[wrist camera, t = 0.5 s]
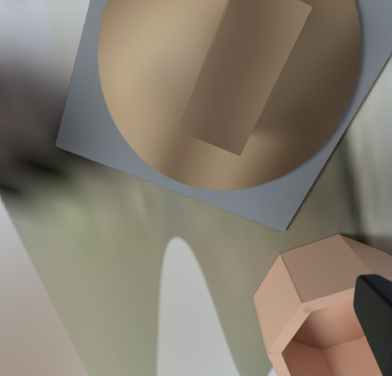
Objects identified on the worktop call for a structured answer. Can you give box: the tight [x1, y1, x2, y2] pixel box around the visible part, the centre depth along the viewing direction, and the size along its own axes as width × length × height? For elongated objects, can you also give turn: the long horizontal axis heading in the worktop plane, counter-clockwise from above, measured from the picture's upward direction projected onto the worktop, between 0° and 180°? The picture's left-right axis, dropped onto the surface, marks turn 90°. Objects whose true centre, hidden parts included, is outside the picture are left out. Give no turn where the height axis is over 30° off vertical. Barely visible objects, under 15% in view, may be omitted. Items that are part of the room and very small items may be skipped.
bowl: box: [253, 234, 392, 376], centre depth 21 cm, size 10×10×5 cm
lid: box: [98, 0, 361, 191], centre depth 14 cm, size 14×14×6 cm
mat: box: [55, 0, 392, 232], centre depth 17 cm, size 16×16×1 cm
